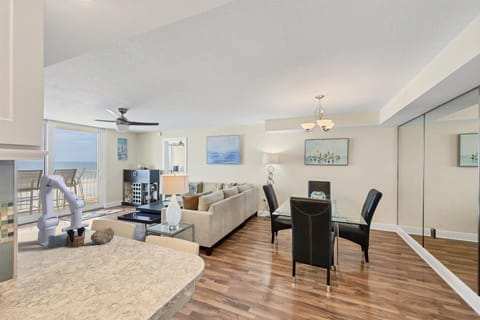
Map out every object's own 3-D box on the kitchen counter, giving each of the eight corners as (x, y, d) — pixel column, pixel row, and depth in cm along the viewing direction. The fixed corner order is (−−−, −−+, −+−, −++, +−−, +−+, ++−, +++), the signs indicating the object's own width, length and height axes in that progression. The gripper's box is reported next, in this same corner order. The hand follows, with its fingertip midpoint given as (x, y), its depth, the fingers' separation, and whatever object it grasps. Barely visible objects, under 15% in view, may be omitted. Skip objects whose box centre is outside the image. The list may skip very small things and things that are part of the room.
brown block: (66, 243, 134) (66, 236, 134) (72, 242, 137) (72, 234, 138) (77, 247, 129) (78, 239, 129) (84, 245, 132) (84, 237, 132)
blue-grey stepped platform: (48, 247, 128) (48, 236, 129) (83, 237, 146) (83, 227, 146) (52, 248, 126) (52, 237, 126) (87, 238, 144) (87, 228, 144)
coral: (98, 247, 130) (93, 232, 131) (91, 249, 134) (86, 234, 135) (119, 237, 143) (114, 223, 143) (112, 239, 147) (107, 226, 147)
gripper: (66, 222, 125) (65, 245, 125) (92, 217, 138) (91, 238, 138) (60, 221, 128) (59, 243, 128) (85, 216, 141) (85, 236, 141)
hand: (75, 240), depth 133 cm, fingers closed on brown block, 3 cm apart
